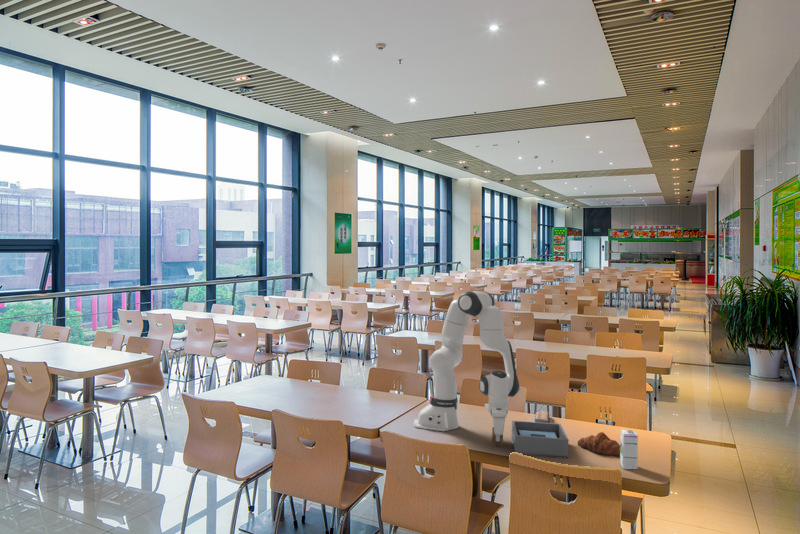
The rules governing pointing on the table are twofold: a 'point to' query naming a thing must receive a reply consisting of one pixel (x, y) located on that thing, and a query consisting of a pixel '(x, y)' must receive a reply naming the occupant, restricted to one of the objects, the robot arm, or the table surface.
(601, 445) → the pastry
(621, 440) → the syrup box
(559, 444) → the open box
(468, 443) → the table surface
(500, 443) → the peg
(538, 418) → the packaged product
